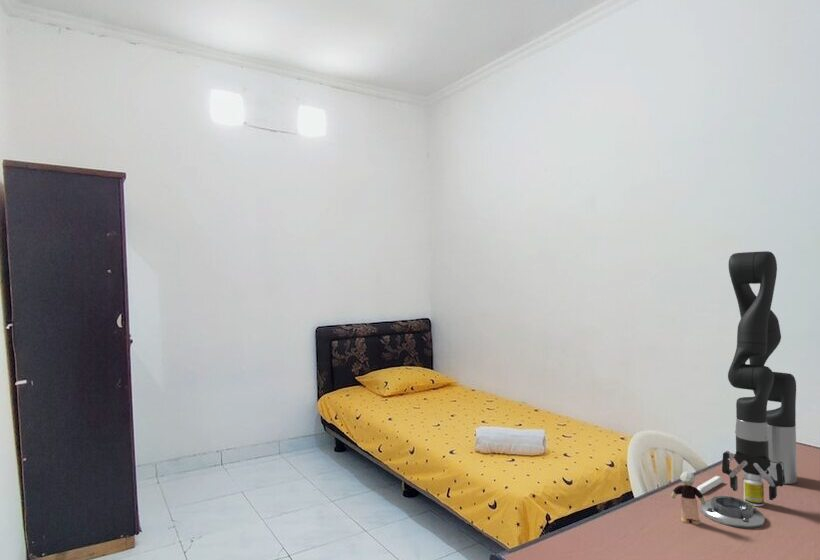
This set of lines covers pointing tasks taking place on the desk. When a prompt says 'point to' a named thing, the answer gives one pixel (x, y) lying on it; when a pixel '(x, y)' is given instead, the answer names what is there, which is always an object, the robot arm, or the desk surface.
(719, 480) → the white pencil
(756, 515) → the hub plate
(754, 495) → the supplement bottle
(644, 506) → the desk surface
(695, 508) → the grandmother figurine
